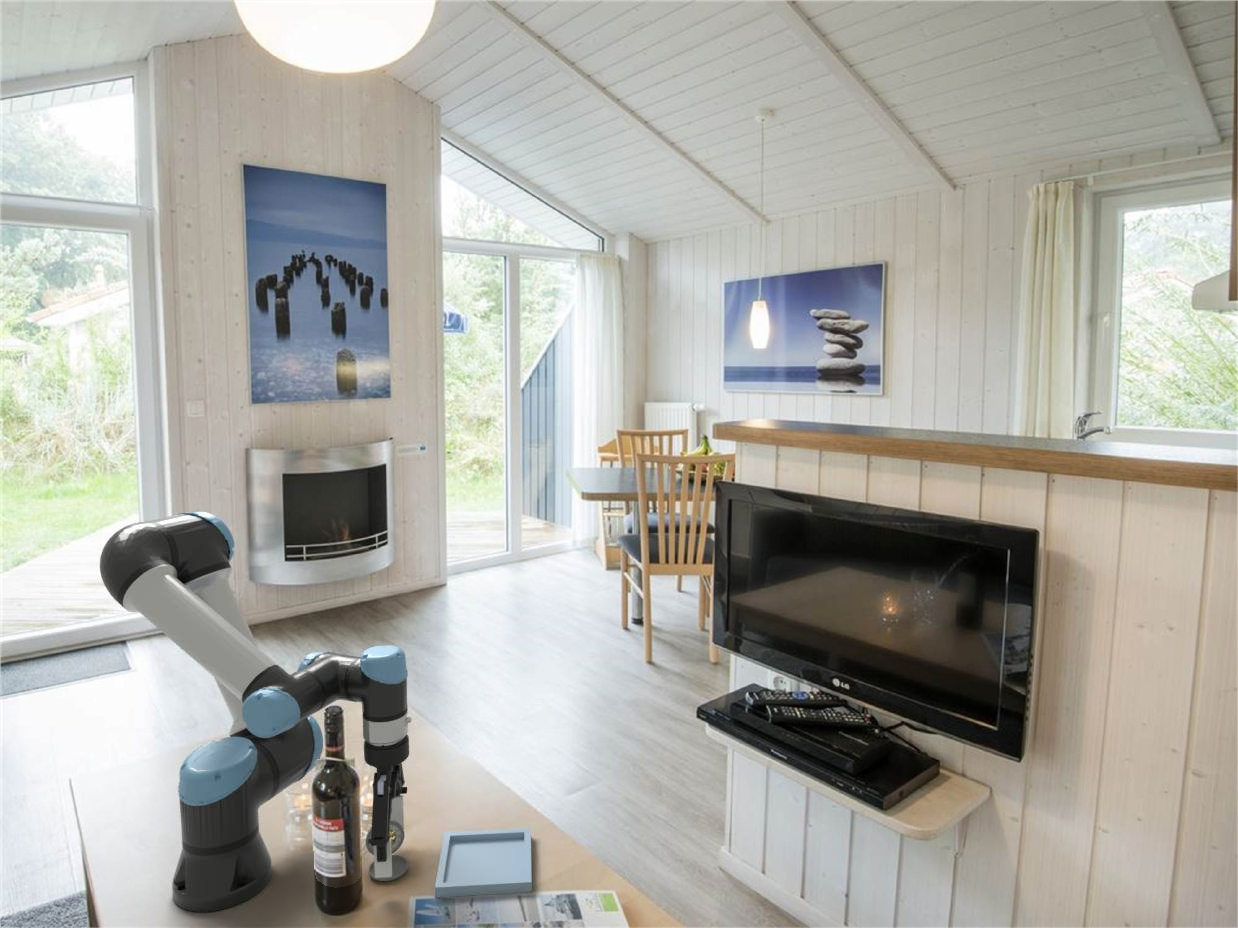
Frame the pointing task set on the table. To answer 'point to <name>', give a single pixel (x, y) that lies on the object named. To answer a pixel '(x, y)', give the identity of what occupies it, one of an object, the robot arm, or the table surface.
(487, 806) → the table surface
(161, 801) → the table surface
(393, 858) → the pocket watch
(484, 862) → the tray
